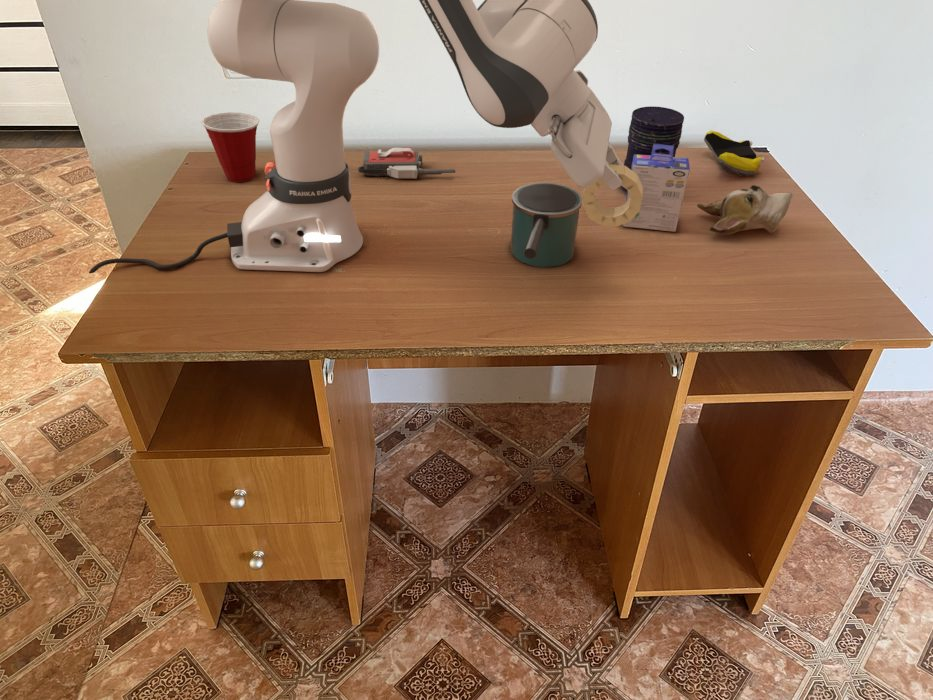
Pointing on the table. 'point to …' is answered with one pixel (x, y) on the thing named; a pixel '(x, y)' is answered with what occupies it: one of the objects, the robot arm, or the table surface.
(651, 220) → the ink cartridge box
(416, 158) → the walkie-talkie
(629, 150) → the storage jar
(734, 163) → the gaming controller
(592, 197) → the tape roll
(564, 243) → the saucepan
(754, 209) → the ceramic sculpture
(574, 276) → the table surface
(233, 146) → the plastic cup
